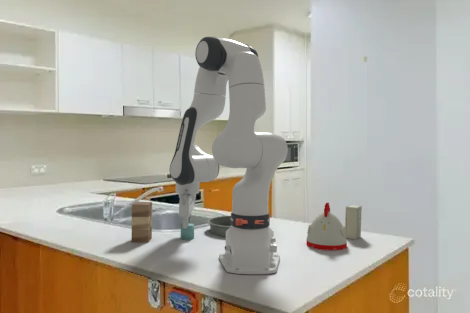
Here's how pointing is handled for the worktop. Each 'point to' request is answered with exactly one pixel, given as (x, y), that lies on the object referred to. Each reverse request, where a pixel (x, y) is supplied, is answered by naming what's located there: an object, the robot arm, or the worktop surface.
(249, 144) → the robot arm
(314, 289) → the worktop surface
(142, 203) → the tower block
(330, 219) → the kitchen timer
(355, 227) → the skincare box
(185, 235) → the teal cube
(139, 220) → the tower block
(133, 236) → the tower block
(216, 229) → the cake pan
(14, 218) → the worktop surface
